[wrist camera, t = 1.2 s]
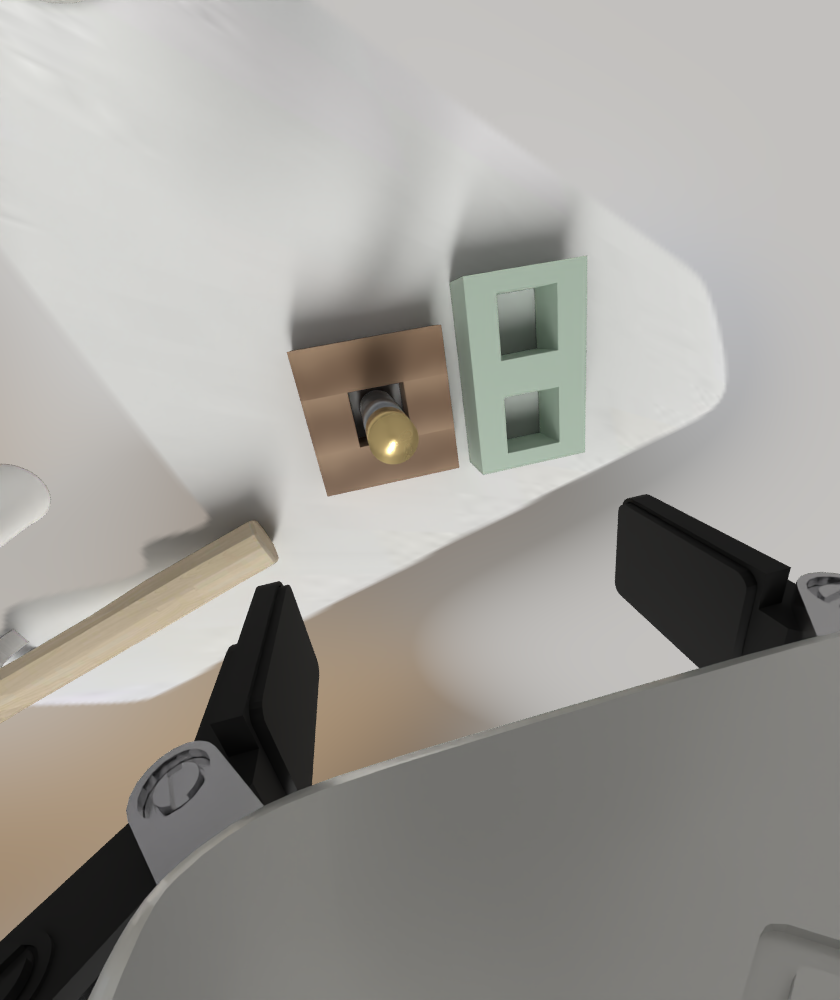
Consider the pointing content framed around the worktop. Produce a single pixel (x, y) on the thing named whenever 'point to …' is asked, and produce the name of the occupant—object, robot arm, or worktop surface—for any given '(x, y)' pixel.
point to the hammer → (131, 617)
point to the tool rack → (523, 363)
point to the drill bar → (387, 428)
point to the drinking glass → (20, 500)
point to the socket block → (370, 365)
